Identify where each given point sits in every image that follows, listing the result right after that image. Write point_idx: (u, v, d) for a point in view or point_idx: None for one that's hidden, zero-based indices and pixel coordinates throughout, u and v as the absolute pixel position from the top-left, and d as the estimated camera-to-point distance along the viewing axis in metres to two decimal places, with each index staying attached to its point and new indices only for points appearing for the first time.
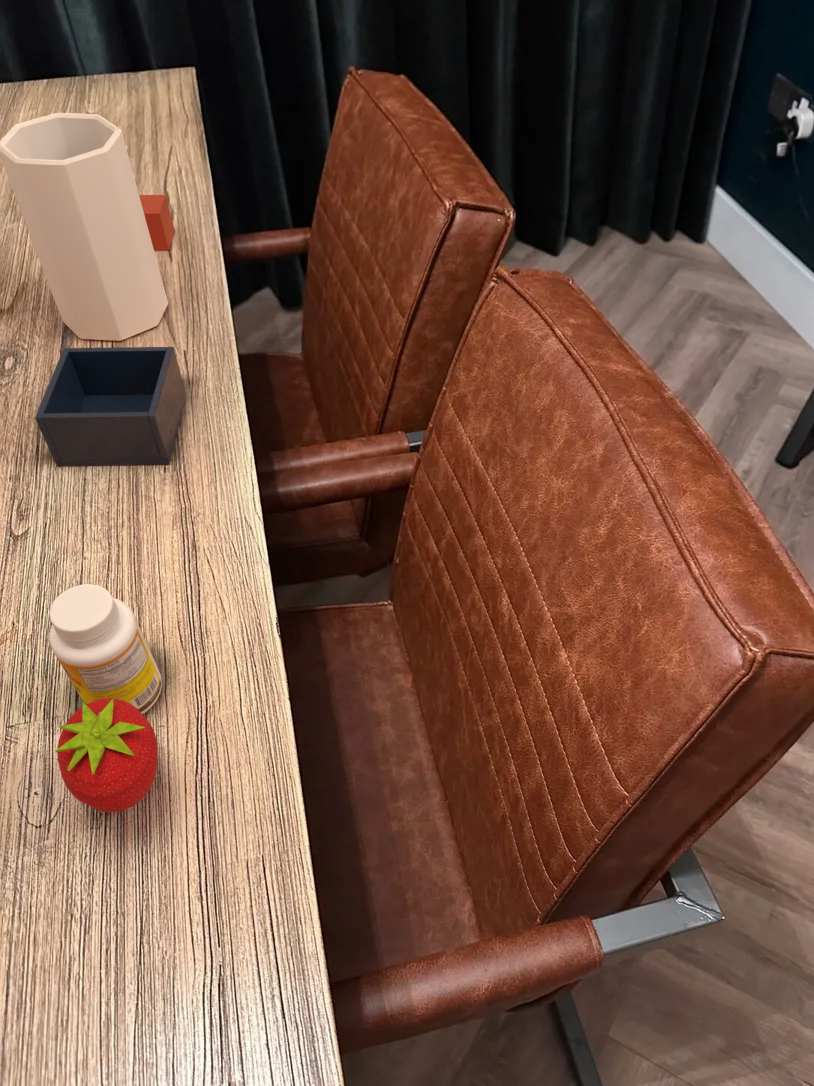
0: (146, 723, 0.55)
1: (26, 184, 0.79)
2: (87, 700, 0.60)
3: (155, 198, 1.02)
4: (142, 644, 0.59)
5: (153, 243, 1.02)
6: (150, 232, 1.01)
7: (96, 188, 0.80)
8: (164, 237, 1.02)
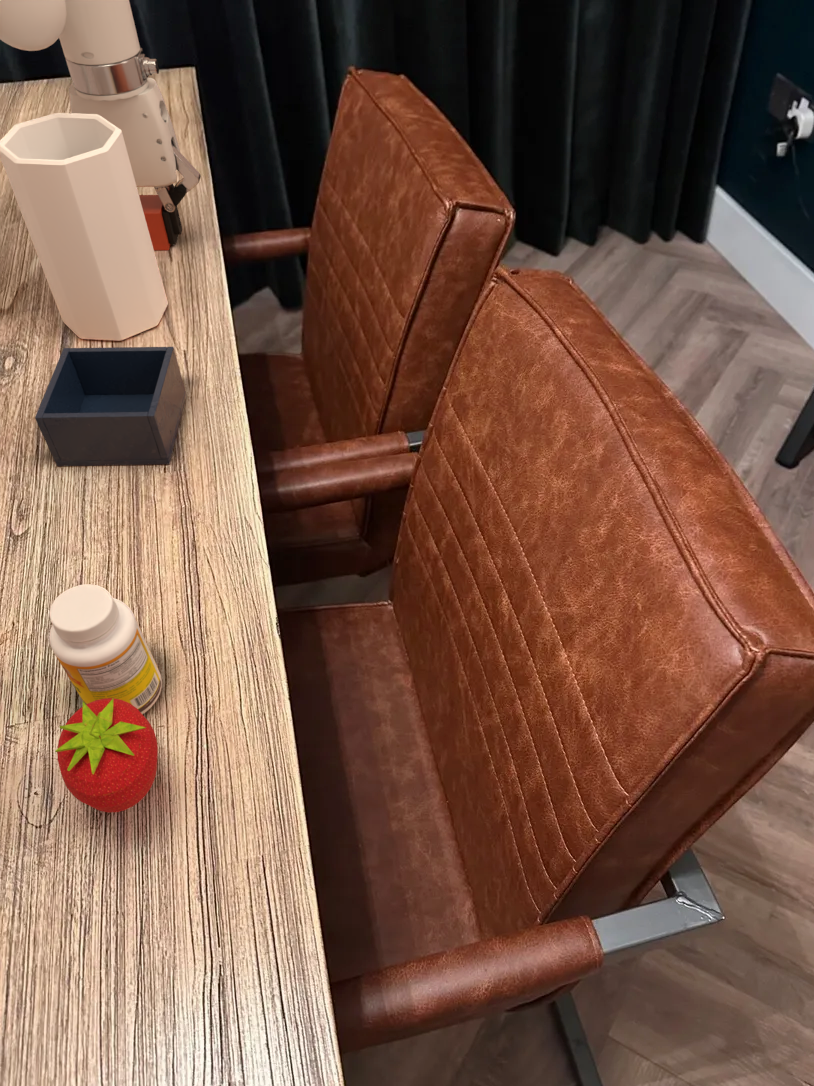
0: (146, 723, 0.55)
1: (26, 184, 0.79)
2: (87, 700, 0.60)
3: (155, 198, 1.02)
4: (142, 644, 0.59)
5: (153, 243, 1.02)
6: (150, 232, 1.01)
7: (96, 188, 0.80)
8: (164, 237, 1.02)
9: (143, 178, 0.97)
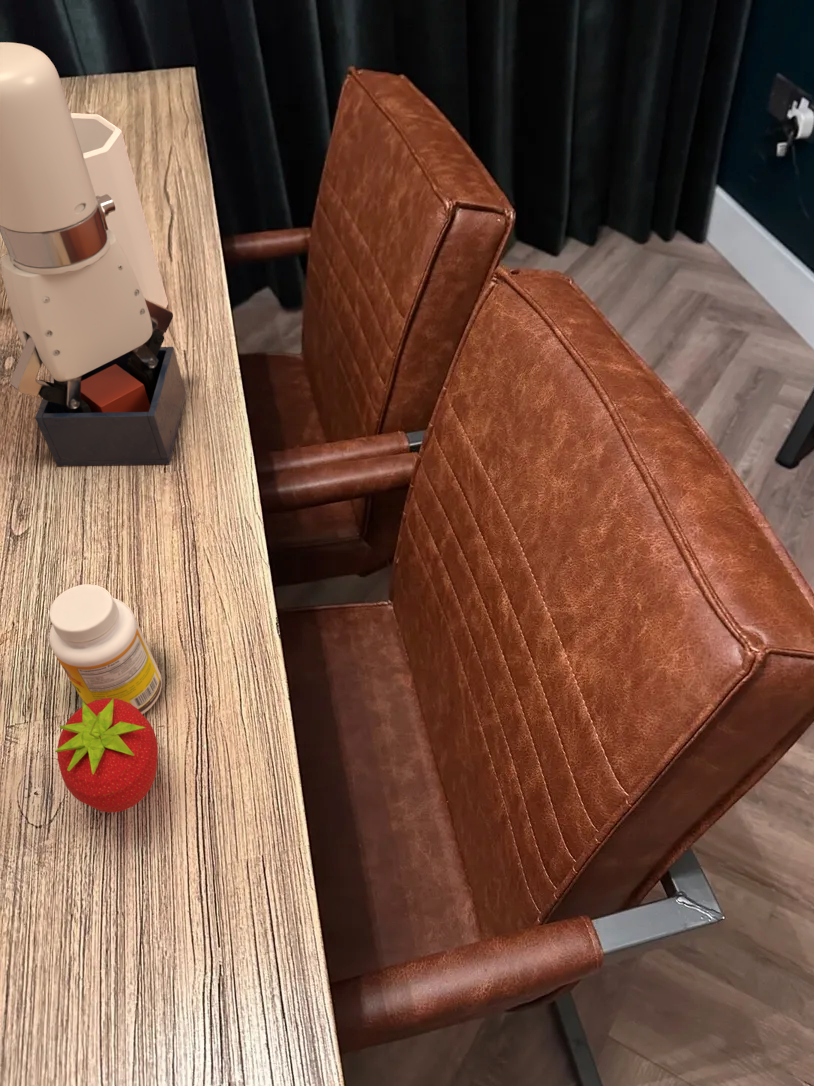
0: (146, 723, 0.55)
1: None
2: (87, 700, 0.60)
3: (110, 372, 0.80)
4: (142, 644, 0.59)
5: None
6: None
7: (96, 188, 0.80)
8: None
9: (122, 346, 0.75)
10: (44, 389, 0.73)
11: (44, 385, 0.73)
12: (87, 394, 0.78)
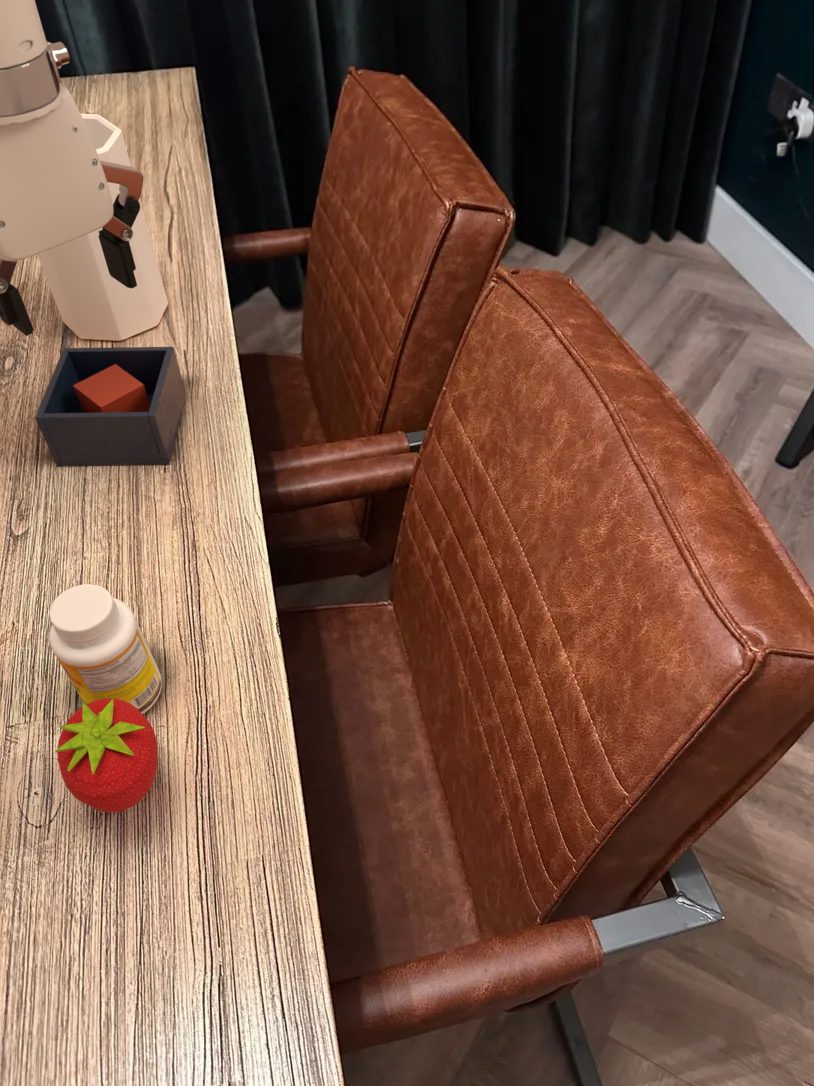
0: (146, 723, 0.55)
1: None
2: (87, 700, 0.60)
3: (110, 372, 0.80)
4: (142, 644, 0.59)
5: None
6: None
7: None
8: None
9: (78, 225, 0.67)
10: None
11: None
12: (87, 394, 0.78)
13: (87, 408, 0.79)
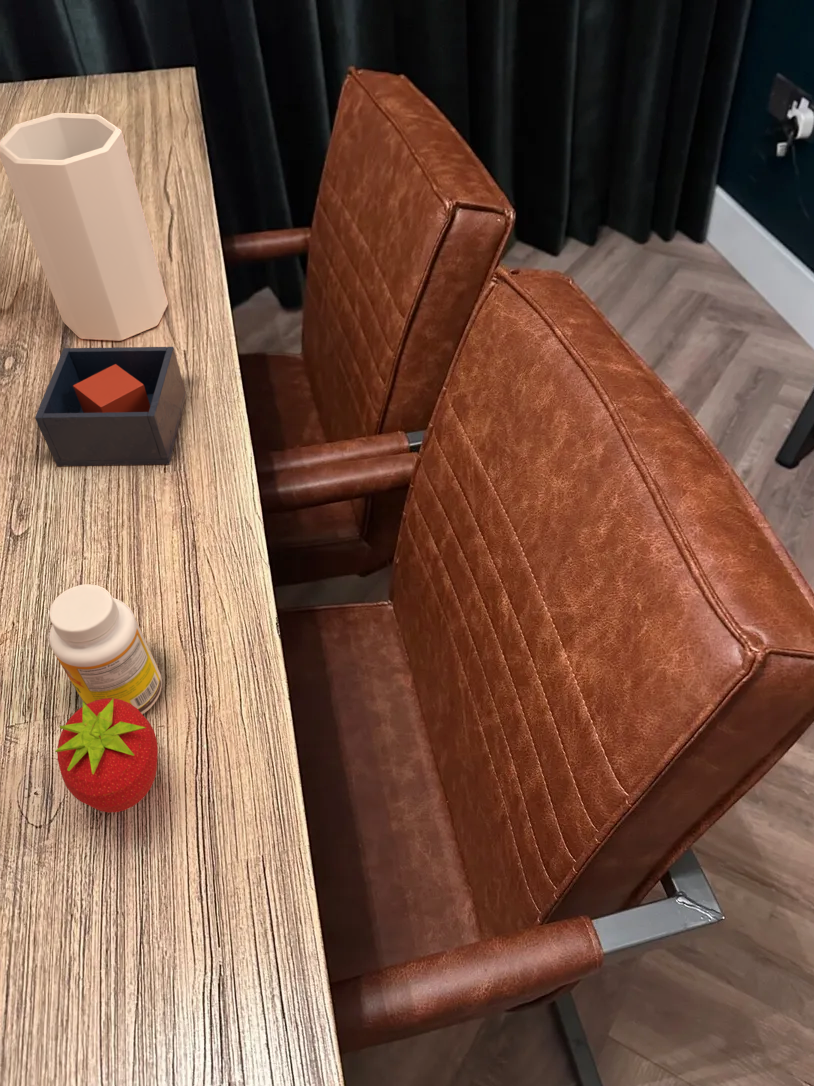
0: (146, 723, 0.55)
1: (26, 184, 0.79)
2: (87, 700, 0.60)
3: (110, 372, 0.80)
4: (142, 644, 0.59)
5: None
6: None
7: (96, 188, 0.80)
8: None
9: None
10: None
11: None
12: (87, 394, 0.78)
13: (87, 408, 0.79)
